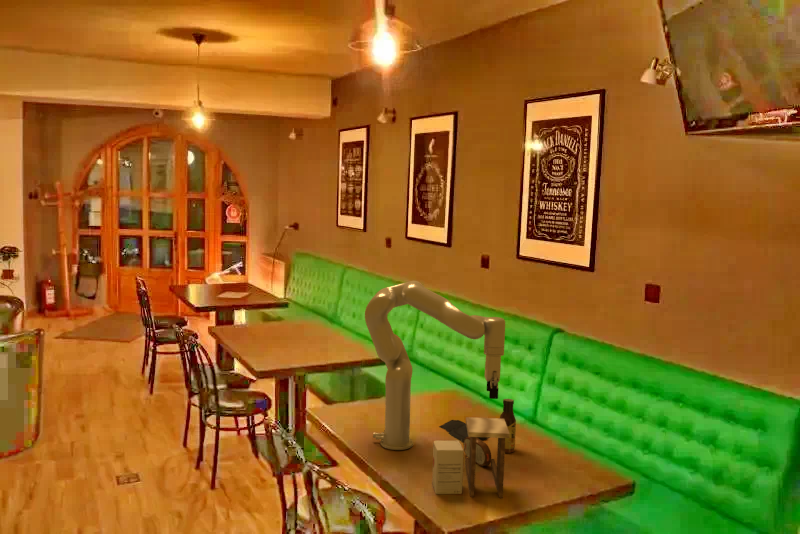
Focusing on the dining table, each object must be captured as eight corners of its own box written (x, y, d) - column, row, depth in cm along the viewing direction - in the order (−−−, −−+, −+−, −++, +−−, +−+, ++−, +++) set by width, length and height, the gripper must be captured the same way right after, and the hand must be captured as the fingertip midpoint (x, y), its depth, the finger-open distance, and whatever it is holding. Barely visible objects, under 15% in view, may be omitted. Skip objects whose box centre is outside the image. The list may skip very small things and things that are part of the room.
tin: (491, 468, 246) (492, 445, 245) (484, 469, 244) (485, 447, 243) (468, 454, 259) (469, 432, 258) (461, 455, 257) (462, 433, 256)
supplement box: (431, 482, 232) (432, 439, 230) (457, 482, 232) (459, 439, 231) (435, 494, 223) (436, 450, 221) (462, 494, 223) (464, 449, 222)
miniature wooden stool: (466, 496, 222) (468, 432, 220) (461, 464, 249) (463, 406, 246) (506, 498, 221) (509, 433, 219) (497, 465, 248) (500, 407, 246)
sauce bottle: (514, 454, 259) (516, 403, 257) (497, 453, 260) (499, 401, 258) (514, 448, 266) (517, 398, 263) (498, 446, 267) (500, 397, 265)
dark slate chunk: (462, 424, 294) (462, 413, 293) (495, 440, 275) (496, 428, 275) (432, 430, 285) (433, 419, 285) (465, 447, 267) (466, 435, 267)
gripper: (481, 344, 266) (480, 388, 268) (486, 355, 249) (484, 401, 251) (501, 345, 266) (499, 388, 268) (507, 356, 249) (505, 402, 250)
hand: (492, 394), depth 259 cm, fingers open, 9 cm apart
